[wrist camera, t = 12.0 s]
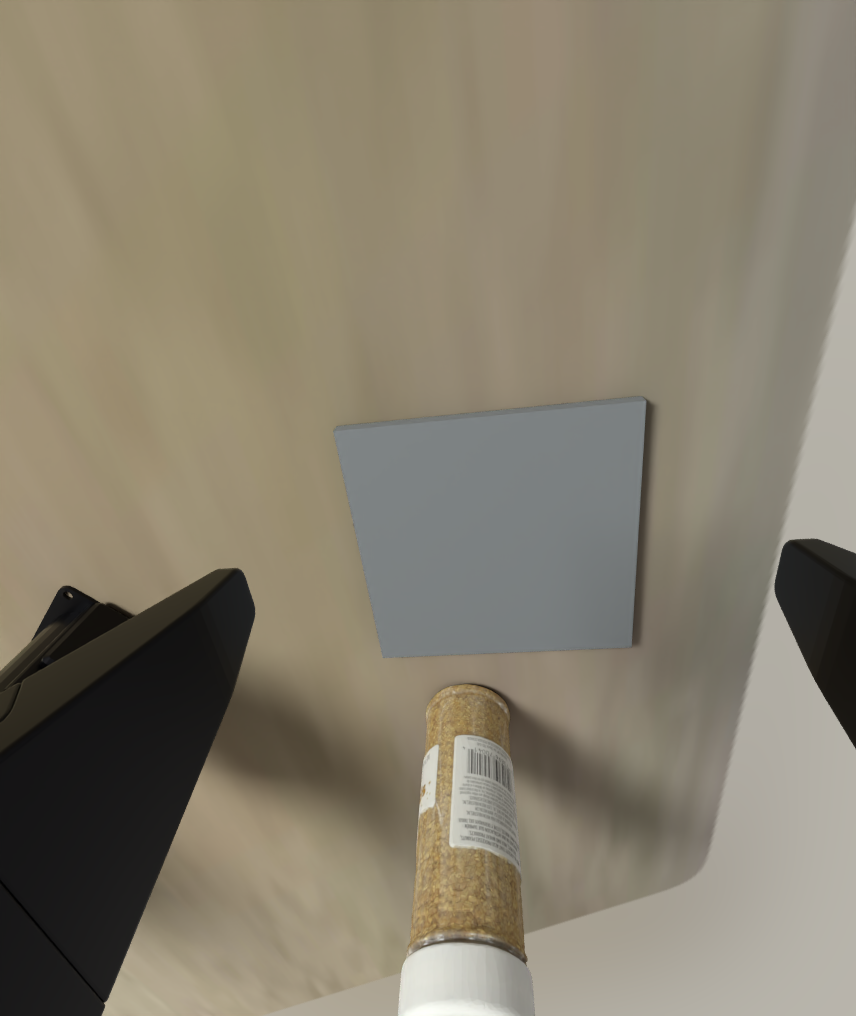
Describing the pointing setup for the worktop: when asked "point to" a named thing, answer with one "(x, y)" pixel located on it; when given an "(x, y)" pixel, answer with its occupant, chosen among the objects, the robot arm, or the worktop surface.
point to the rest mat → (499, 527)
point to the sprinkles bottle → (467, 867)
